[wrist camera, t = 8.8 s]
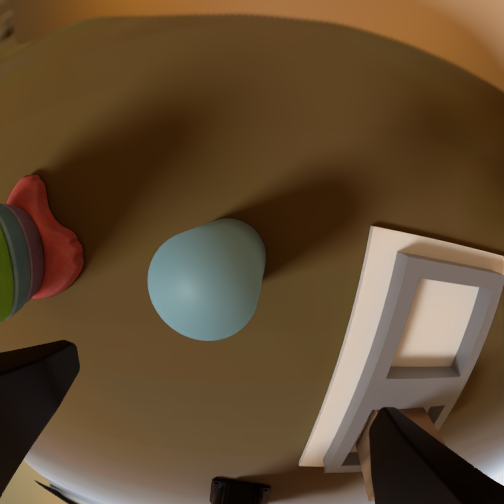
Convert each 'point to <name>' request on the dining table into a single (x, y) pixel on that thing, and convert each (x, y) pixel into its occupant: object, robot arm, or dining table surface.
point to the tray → (406, 338)
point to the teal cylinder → (208, 279)
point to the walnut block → (364, 448)
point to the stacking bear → (34, 248)
